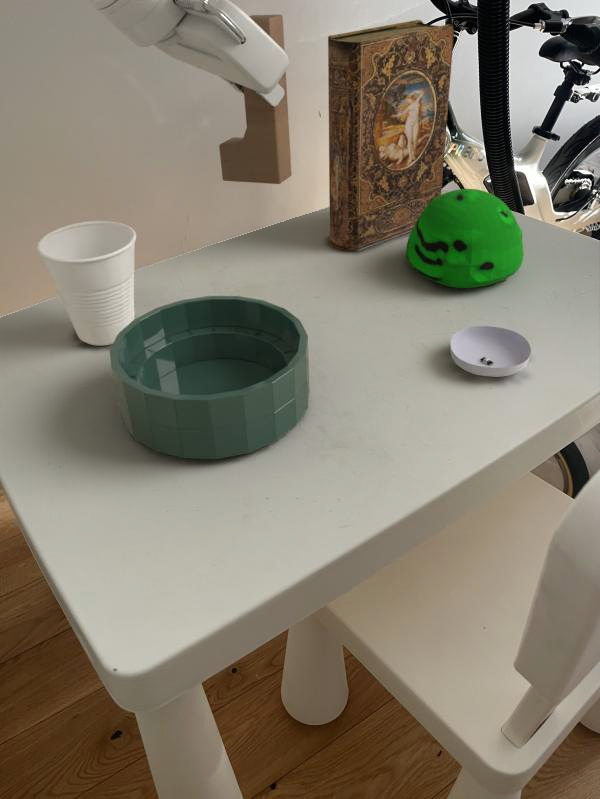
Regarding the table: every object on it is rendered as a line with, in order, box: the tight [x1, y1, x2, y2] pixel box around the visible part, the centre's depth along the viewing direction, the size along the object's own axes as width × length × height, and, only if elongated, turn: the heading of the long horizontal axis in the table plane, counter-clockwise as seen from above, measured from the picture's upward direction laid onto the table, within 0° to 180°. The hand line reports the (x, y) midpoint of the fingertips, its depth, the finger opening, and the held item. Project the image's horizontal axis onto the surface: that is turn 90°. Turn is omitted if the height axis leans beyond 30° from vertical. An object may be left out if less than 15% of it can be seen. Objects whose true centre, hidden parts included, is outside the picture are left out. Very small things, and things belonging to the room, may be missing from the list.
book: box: [327, 19, 455, 253], centre depth 94 cm, size 16×6×25 cm, turn 128°
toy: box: [405, 188, 524, 289], centre depth 88 cm, size 14×13×10 cm
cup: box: [36, 220, 137, 347], centre depth 78 cm, size 10×10×11 cm
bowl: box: [109, 295, 310, 460], centre depth 67 cm, size 17×17×7 cm
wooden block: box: [218, 14, 292, 185], centre depth 72 cm, size 7×3×15 cm, turn 69°
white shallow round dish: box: [449, 325, 532, 378], centre depth 73 cm, size 8×8×2 cm
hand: (262, 92), depth 71 cm, fingers closed on wooden block, 4 cm apart
